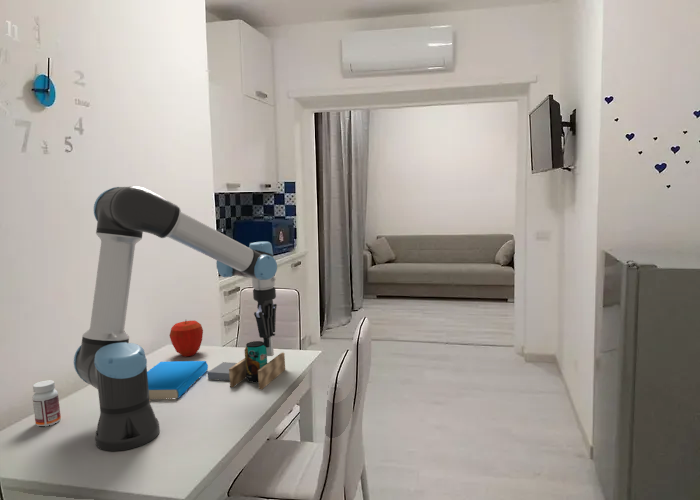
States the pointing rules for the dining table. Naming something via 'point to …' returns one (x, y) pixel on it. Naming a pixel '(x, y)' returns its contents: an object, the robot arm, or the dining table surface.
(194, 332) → the apple
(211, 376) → the stand
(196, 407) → the dining table surface
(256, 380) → the beverage can
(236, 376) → the slot rack
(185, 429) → the dining table surface
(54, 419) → the pill bottle
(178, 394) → the book
